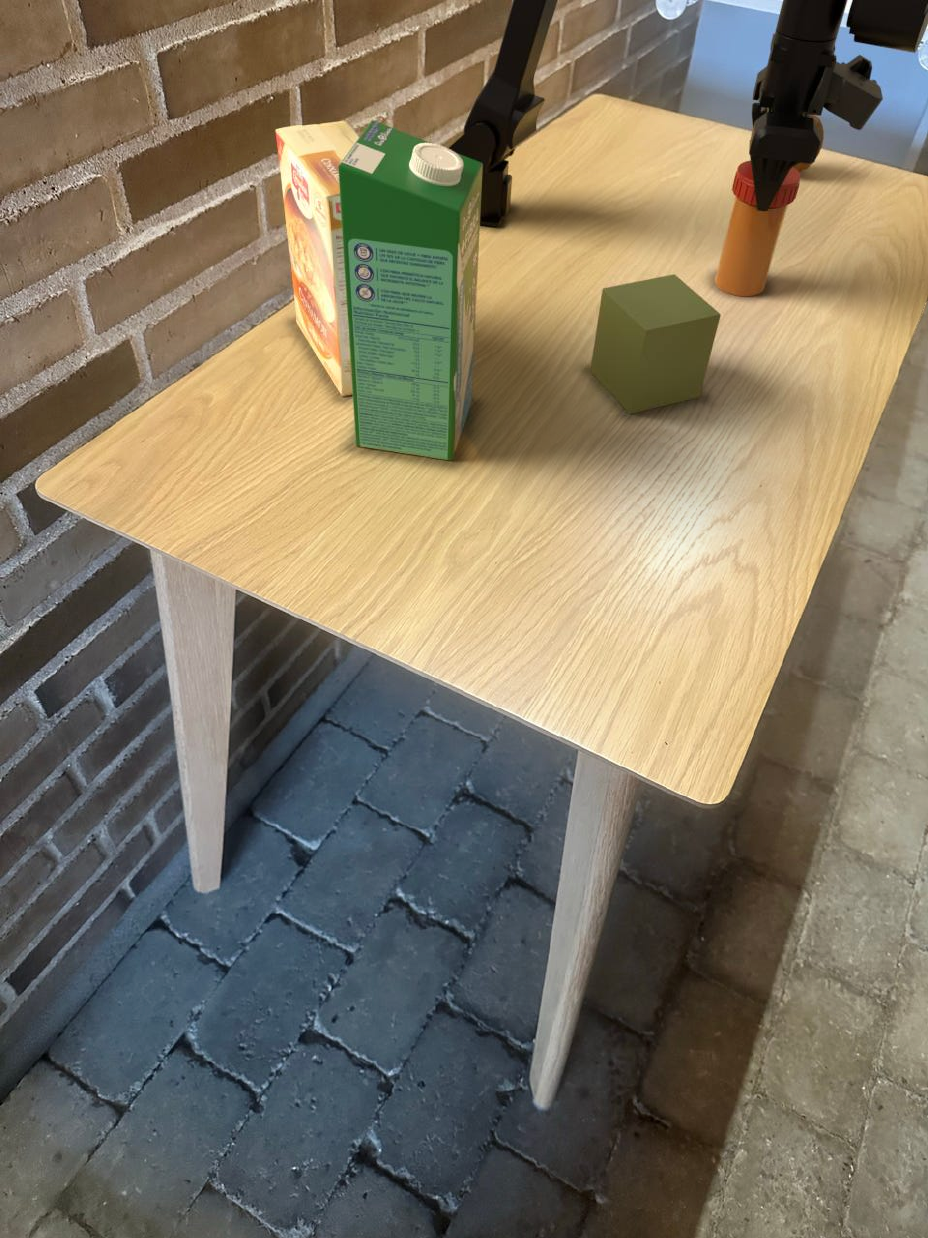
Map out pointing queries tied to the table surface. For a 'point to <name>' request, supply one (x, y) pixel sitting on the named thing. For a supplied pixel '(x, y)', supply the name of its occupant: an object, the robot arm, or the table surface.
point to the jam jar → (748, 248)
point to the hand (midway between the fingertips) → (762, 197)
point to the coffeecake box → (318, 238)
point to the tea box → (653, 342)
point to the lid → (746, 192)
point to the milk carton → (410, 289)
